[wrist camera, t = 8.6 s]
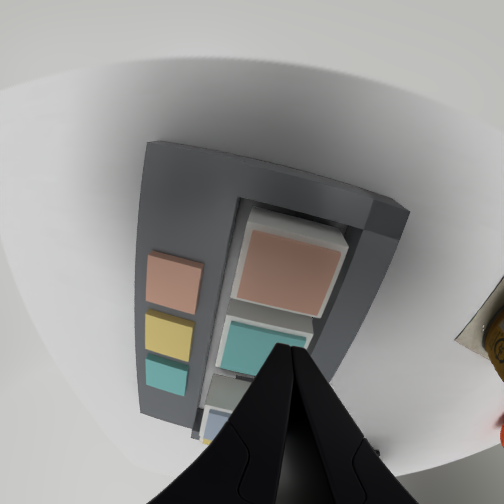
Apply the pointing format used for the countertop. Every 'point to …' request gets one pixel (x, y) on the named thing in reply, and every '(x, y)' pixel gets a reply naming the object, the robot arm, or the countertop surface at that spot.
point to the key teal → (258, 335)
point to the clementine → (502, 435)
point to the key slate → (221, 403)
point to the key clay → (288, 262)
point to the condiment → (488, 331)
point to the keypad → (215, 256)
